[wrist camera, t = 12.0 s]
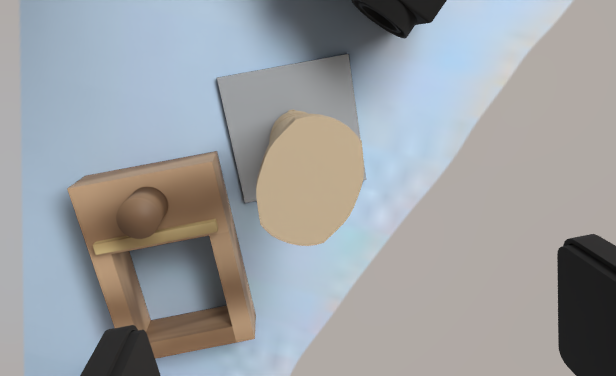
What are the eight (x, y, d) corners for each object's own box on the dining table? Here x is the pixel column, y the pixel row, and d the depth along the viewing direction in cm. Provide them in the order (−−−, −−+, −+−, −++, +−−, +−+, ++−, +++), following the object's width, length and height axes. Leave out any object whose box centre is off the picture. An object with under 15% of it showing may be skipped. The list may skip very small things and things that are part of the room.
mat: (217, 77, 36) (216, 78, 35) (347, 53, 36) (348, 53, 36) (245, 201, 39) (245, 202, 38) (365, 178, 39) (366, 179, 39)
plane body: (85, 175, 37) (48, 202, 31) (216, 151, 37) (206, 172, 31) (138, 338, 41) (115, 390, 35) (255, 315, 42) (253, 362, 35)
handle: (252, 159, 37) (241, 230, 23) (277, 79, 36) (282, 103, 21) (310, 176, 38) (334, 256, 24) (336, 100, 36) (381, 135, 22)
